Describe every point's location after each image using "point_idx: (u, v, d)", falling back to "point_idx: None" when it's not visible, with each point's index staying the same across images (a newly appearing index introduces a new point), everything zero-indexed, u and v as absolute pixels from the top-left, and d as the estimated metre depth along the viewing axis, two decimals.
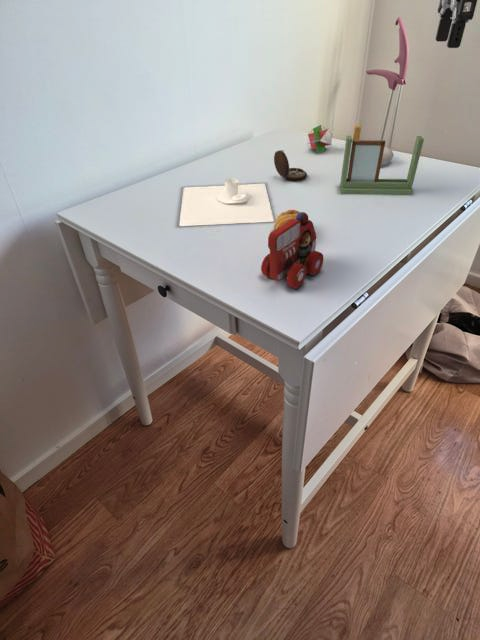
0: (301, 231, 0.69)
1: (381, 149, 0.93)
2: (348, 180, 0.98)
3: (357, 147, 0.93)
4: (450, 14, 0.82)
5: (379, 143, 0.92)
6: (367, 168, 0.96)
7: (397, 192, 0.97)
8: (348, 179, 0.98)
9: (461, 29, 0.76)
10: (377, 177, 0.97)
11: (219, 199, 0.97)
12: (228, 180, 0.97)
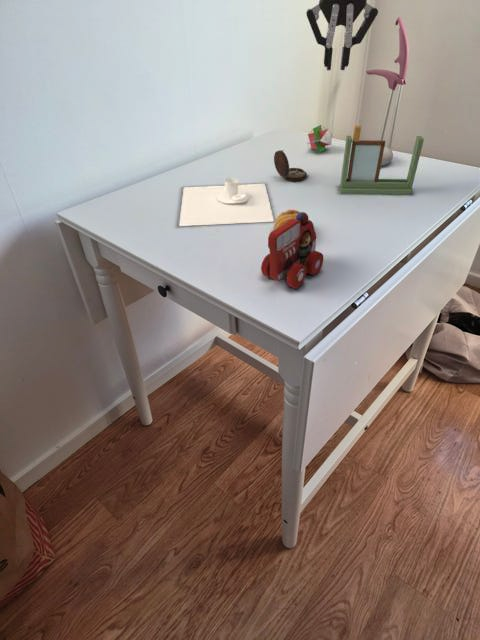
0: (301, 231, 0.69)
1: (381, 149, 0.93)
2: (348, 180, 0.98)
3: (357, 147, 0.93)
4: (345, 41, 0.81)
5: (379, 143, 0.92)
6: (367, 168, 0.96)
7: (397, 192, 0.97)
8: (348, 179, 0.98)
9: (325, 52, 0.82)
10: (377, 177, 0.97)
11: (219, 199, 0.97)
12: (228, 180, 0.97)
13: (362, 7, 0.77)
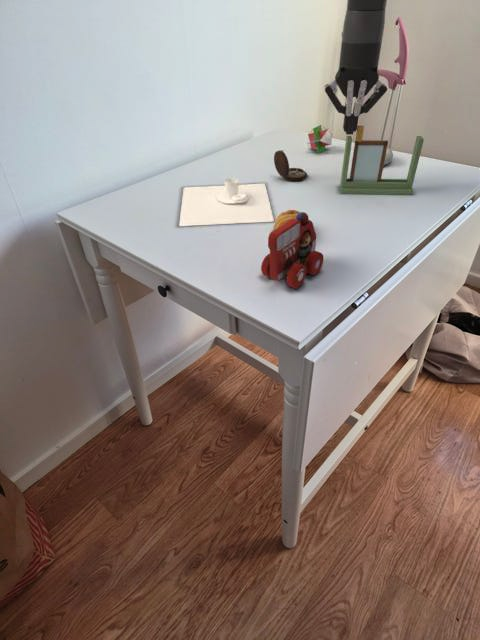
0: (301, 231, 0.69)
1: (384, 149, 0.93)
2: (351, 180, 0.98)
3: (360, 147, 0.93)
4: (354, 110, 0.88)
5: (382, 143, 0.92)
6: (370, 168, 0.96)
7: (397, 192, 0.97)
8: (351, 179, 0.98)
9: (344, 119, 0.90)
10: (380, 177, 0.97)
11: (219, 199, 0.97)
12: (228, 180, 0.97)
13: (374, 83, 0.84)
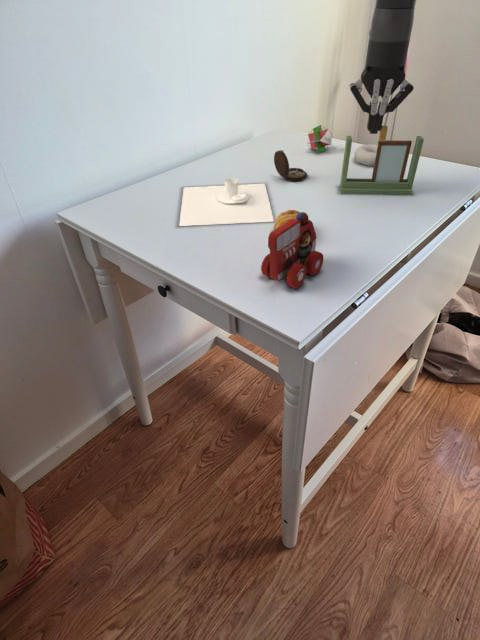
0: (301, 231, 0.69)
1: (407, 149, 0.92)
2: (373, 180, 0.98)
3: (383, 147, 0.93)
4: (379, 109, 0.88)
5: (405, 143, 0.92)
6: (392, 168, 0.95)
7: (397, 192, 0.97)
8: (373, 179, 0.97)
9: (369, 118, 0.89)
10: (402, 177, 0.96)
11: (219, 199, 0.97)
12: (228, 180, 0.97)
13: (400, 82, 0.84)
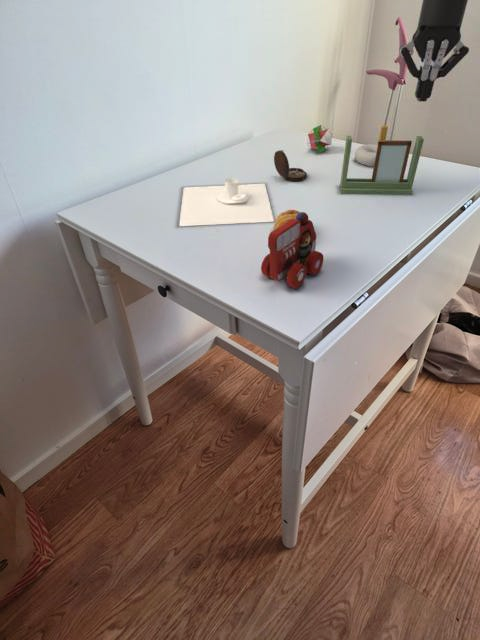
0: (301, 231, 0.69)
1: (407, 149, 0.92)
2: (373, 180, 0.98)
3: (383, 147, 0.93)
4: (430, 74, 0.83)
5: (405, 143, 0.92)
6: (392, 168, 0.95)
7: (397, 192, 0.97)
8: (373, 179, 0.97)
9: (418, 85, 0.84)
10: (402, 177, 0.96)
11: (219, 199, 0.97)
12: (228, 180, 0.97)
13: (455, 43, 0.79)
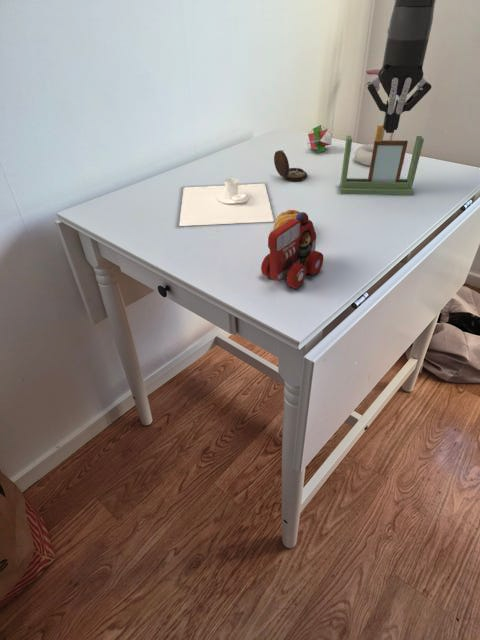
0: (301, 231, 0.69)
1: (403, 149, 0.92)
2: (369, 180, 0.98)
3: (379, 147, 0.93)
4: (396, 108, 0.87)
5: (401, 143, 0.92)
6: (388, 168, 0.96)
7: (397, 192, 0.97)
8: (369, 179, 0.97)
9: (385, 117, 0.89)
10: (398, 177, 0.96)
11: (219, 199, 0.97)
12: (228, 180, 0.97)
13: (418, 80, 0.83)
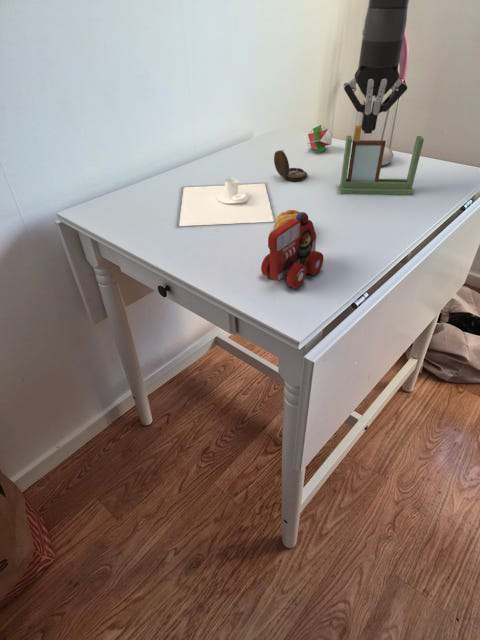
0: (301, 231, 0.69)
1: (381, 149, 0.93)
2: (348, 180, 0.98)
3: (357, 147, 0.93)
4: (373, 109, 0.88)
5: (379, 143, 0.92)
6: (367, 168, 0.96)
7: (397, 192, 0.97)
8: (348, 179, 0.98)
9: (363, 118, 0.89)
10: (377, 177, 0.97)
11: (219, 199, 0.97)
12: (228, 180, 0.97)
13: (394, 81, 0.84)
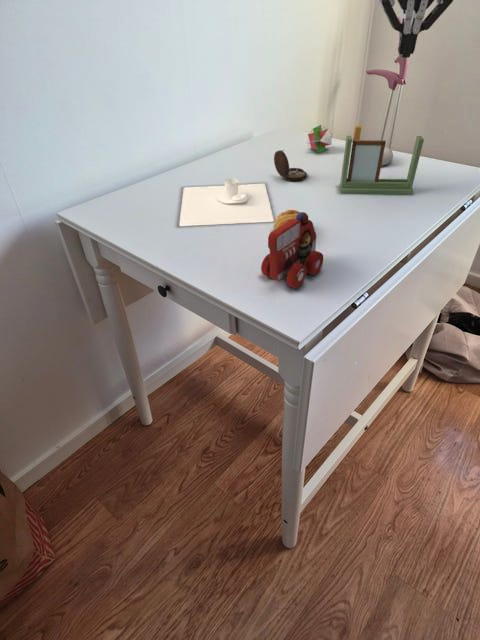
0: (301, 231, 0.69)
1: (381, 149, 0.93)
2: (348, 180, 0.98)
3: (357, 147, 0.93)
4: (413, 27, 0.78)
5: (379, 143, 0.92)
6: (367, 168, 0.96)
7: (397, 192, 0.97)
8: (348, 179, 0.98)
9: (401, 39, 0.80)
10: (377, 177, 0.97)
11: (219, 199, 0.97)
12: (228, 180, 0.97)
13: None
